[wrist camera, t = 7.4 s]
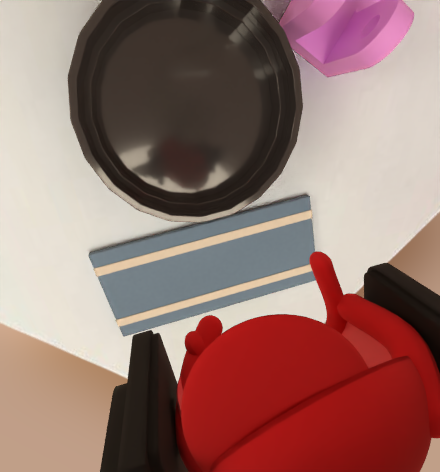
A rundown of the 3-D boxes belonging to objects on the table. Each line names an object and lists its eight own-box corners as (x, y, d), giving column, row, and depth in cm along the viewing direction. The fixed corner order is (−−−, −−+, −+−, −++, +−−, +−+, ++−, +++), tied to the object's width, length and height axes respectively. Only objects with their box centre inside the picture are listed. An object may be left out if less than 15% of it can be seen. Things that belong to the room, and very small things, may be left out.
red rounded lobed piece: (389, 300, 12) (593, 464, 6) (290, 406, 13) (388, 622, 7) (229, 181, 9) (346, 288, 3) (119, 330, 10) (71, 593, 4)
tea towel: (306, 194, 28) (310, 196, 27) (315, 277, 32) (318, 280, 31) (89, 252, 26) (87, 255, 26) (124, 332, 30) (123, 337, 29)
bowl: (265, -24, 21) (288, -54, 18) (289, 182, 27) (311, 193, 23) (48, 18, 20) (22, -5, 16) (124, 225, 26) (117, 245, 22)
